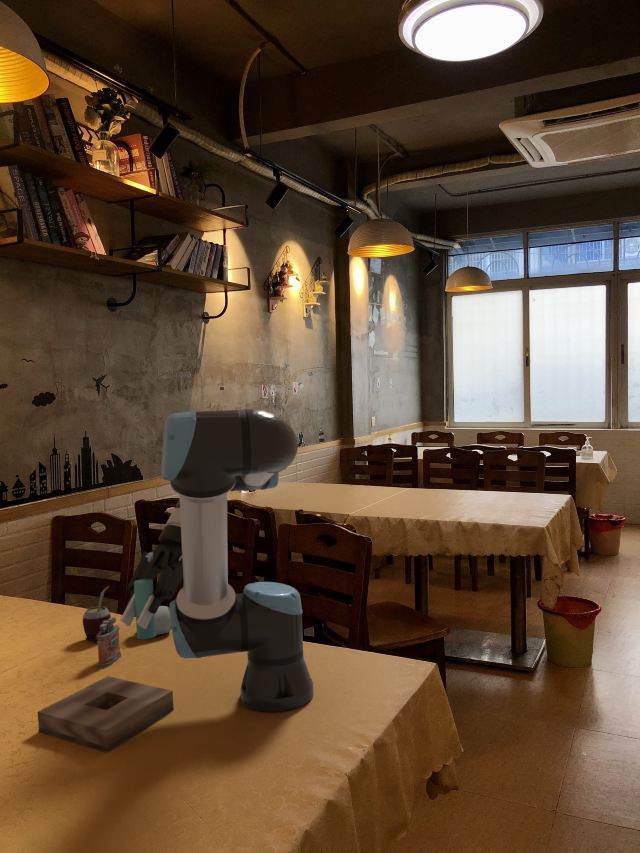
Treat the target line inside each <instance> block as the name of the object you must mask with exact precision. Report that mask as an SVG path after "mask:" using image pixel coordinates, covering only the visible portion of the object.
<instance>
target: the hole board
mask: <svg viewBox="0 0 640 853" xmlns="http://www.w3.org/2000/svg"><path fill="white" fill-rule="evenodd" d="M173 693H174V692H173V690H172V689H166V688H162V687H158V686H154V685H149V684H145V683H139V682H135V681H131V680H128V679H127V680H126V679H122V678H118V677H113V676H108V675H107V676H106V677H103V678H102V679H99V680H98V681H96V682H94V683H91V684H90V685H88V686H86V687H84V688H81V689H80V690H78V691H76V692H74V693H72V694H70V695H68V696H66V697H64V698H61V699H60V700H58V701H56V702H55V703H52V704H50V705H48V706H46V707H44V708H42V709H40V710H39V711H37V719H38V720H37V721H38V722H37V723H38V725H37V726H38V733H41V734H44V735H48V736H51V737H54V738H58V739H61V740H64V741H68V742H72V743H75V744H78V745H81V746H84V747H88V748H90V749H94V750H97V751H100V752H105V753H108V752H110V751H111V750H113V749H115V748H116V747H118V746H119V745H121V744H122V743H124V742H125V741H128V740H129V739H130V738H132V737H134V736H135V735H137V734H138V733H139V732H142V731H143V730H145V729H146V728H147V727H150V725H152V724H154V723H156V722H157V721H159V720H160V719H162V718H164V717H165V716H167V715H168V714H170V713H171V712H173V711H174V710H175V709H174V696H173V695H174V694H173Z"/></svg>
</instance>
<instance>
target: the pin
mask: <svg viewBox="0 0 640 853" xmlns="http://www.w3.org/2000/svg"><path fill="white" fill-rule="evenodd" d="M134 592H135V610H136V615H135V623H136V622H137V620H138V618H139V616H140V614H141V612H142V610H143V608H144V607H145V605H146V603H147V601H148V599H149V597H150V595H153V596H154V597H155V595H154V594H153V593H152V592H155V591H154V580H152V579H141V580H137V581H135V582H134ZM135 625H136V638H137V639H139V640H149V639H152V638H155V637H156V636H157V635H156V626H155V614H153V616H152V618H151V620H150V622H149V624H148V626H147V628H146V629H143V628H142V627H141V626H139V625H138V624H137V623H136V624H135Z"/></svg>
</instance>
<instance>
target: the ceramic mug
mask: <svg viewBox="0 0 640 853" xmlns="http://www.w3.org/2000/svg"><path fill="white" fill-rule="evenodd" d="M155 626H156V636H159V635H160V634H161V635H165V634H168V633H170V632H172V627H171V621H170V606H169V607H168V606H165V605H160V606H159V608H158V610H157V612H156V613H155Z"/></svg>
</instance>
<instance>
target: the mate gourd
mask: <svg viewBox="0 0 640 853" xmlns="http://www.w3.org/2000/svg"><path fill="white" fill-rule="evenodd" d="M109 588H110V586H109V585H108V586H107V587H105V588H104V589H102V591H101V592H100V595H99V602H98V606H93V607H89V608H87V609H86V610H85V612H84V613H83V615H82V616H83V617H82V626H83V631H84V633H85V641H86V640H87V641H93V644H98V643H97V642H98V639H97V634H98V633H99V632H101V630H100V625H102V623H103V621H108V619H110V618H111V617H112V616H111V613H110V611H109V609H108V608H107V607H106V606H102V601H103V598H104V595H105V592H106V591H107V590H108V589H109ZM93 639H95V640H93Z"/></svg>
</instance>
